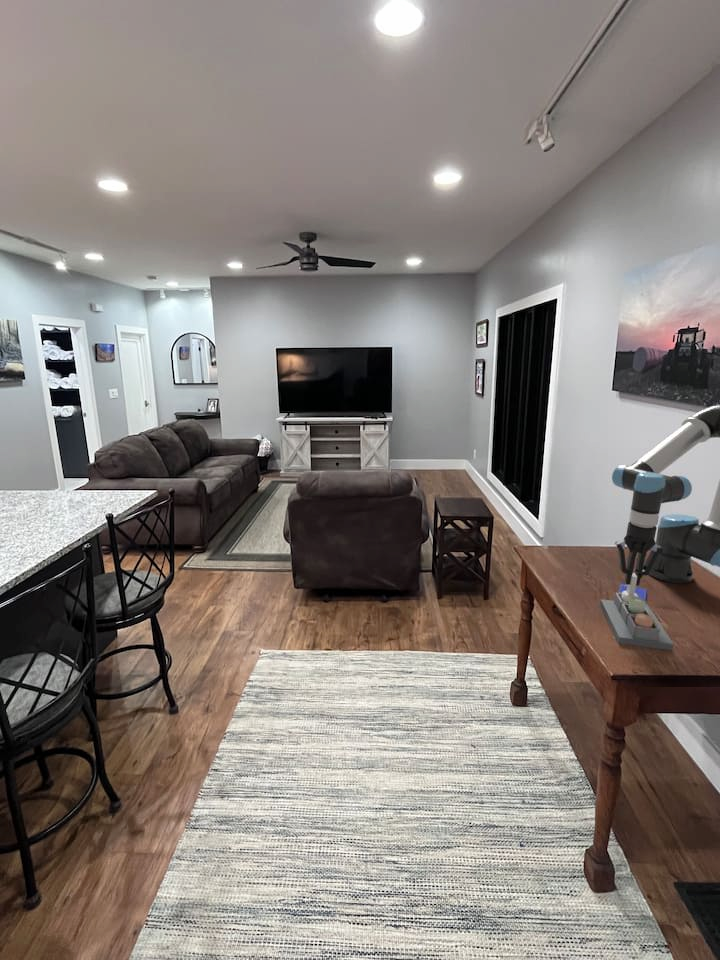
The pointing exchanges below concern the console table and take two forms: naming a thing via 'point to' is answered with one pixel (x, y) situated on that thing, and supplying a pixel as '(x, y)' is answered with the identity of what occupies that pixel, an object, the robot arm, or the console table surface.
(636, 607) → the button sage
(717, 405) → the robot arm
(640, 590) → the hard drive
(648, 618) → the button terracotta
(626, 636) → the button board
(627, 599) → the button ivory
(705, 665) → the console table surface
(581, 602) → the console table surface
